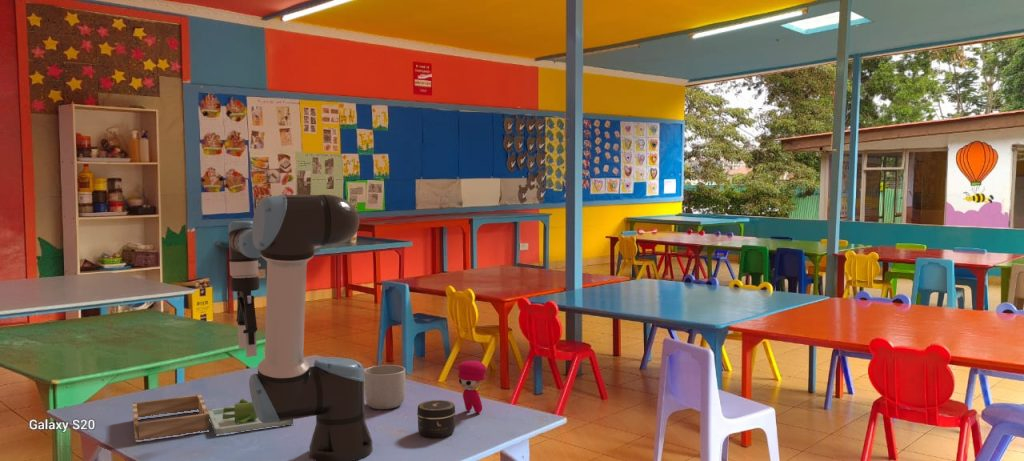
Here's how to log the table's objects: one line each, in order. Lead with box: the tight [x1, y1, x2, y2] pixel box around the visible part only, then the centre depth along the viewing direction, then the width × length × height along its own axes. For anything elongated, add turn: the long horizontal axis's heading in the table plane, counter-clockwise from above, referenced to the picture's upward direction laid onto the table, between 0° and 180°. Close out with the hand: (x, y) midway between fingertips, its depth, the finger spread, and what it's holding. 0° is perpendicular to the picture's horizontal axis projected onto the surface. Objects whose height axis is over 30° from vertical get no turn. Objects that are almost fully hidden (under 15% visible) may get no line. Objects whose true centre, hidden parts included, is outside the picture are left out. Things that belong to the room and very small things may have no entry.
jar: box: [416, 399, 456, 439], centre depth 200 cm, size 10×10×8 cm
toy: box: [457, 359, 488, 414], centre depth 218 cm, size 8×8×15 cm
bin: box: [132, 393, 211, 441], centre depth 209 cm, size 22×18×5 cm
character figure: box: [223, 398, 257, 424], centre depth 211 cm, size 12×5×12 cm
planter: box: [363, 364, 406, 410], centre depth 226 cm, size 12×12×11 cm
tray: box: [207, 405, 294, 435], centre depth 213 cm, size 20×20×2 cm
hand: (247, 352), depth 212 cm, fingers open, 13 cm apart
